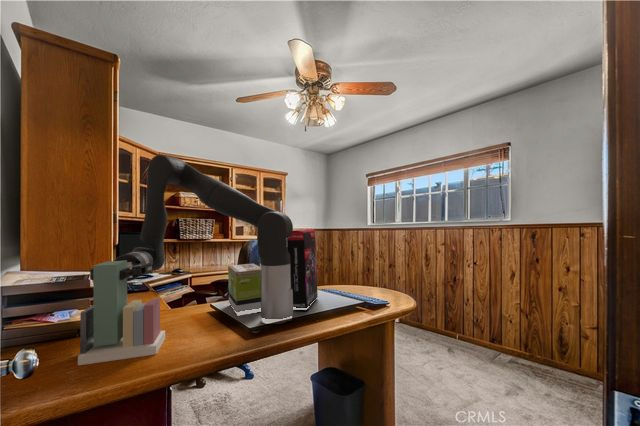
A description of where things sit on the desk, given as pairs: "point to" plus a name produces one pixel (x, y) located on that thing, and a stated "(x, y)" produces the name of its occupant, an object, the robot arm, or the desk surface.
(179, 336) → the desk surface
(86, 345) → the bookend
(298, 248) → the graphics card box
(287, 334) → the desk surface
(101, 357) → the shelf
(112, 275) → the book
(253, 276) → the tea box
